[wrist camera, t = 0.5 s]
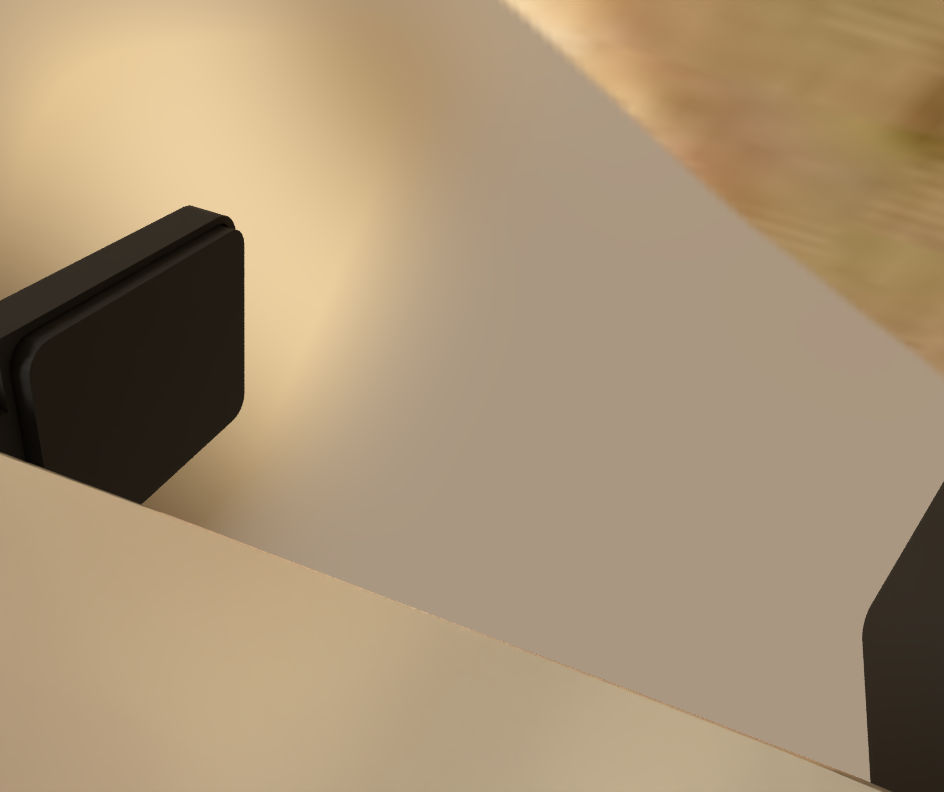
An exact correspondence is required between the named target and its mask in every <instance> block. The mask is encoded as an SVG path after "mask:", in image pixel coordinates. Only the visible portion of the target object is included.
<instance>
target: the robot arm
mask: <svg viewBox="0 0 944 792" xmlns="http://www.w3.org/2000/svg"><path fill="white" fill-rule="evenodd" d="M243 400H244V238H243V236H242V233H241V232H240V231H238V230H235V226H234V223H233V221H232V220H231V219H230V218H229V217H228V216H224V215H221V214H218V213H214V212H211V211H207V210H204V209H200V208H197V207H194V206H190V205H189V206H185V207H183V208H181V209H179V210H177V211H175V212H173V213H171V214H169V215H167V216H165V217H163V218H161V219H159V220H157V221H155V222H153V223H151V224H150V225H147V226H145V227H143V228H142V229H140V230H138V231H136V232H134V233H132V234H130V235H128V236H126V237H124V238H122V239H120V240H118V241H116V242H114V243H112V244H110V245H108V246H106V247H105V248H102V249H100V250H99V251H97V252H95V253H93V254H91V255H89V256H87V257H85V258H83V259H81V260H79V261H77V262H75V263H73V264H71V265H69V266H67V267H66V268H63V269H61V270H59V271H57V272H55V273H54V274H52V275H50V276H48V277H46V278H44V279H42V280H40V281H38V282H36V283H34V284H32V285H30V286H28V287H26V288H24V289H22V290H20V291H18V292H17V293H14V294H12V295H10V296H8V297H7V298H5V299H3V300H1V301H0V792H944V482H943V484H942V486H941V487H940V489H939V491H938V492H937V494H936V496H935V497H934V499H933V501H932V502H931V504H930V506H929V508H928V509H927V511H926V513H925V514H924V516H923V518H922V519H921V521H920V523H919V525H918V526H917V528H916V530H915V531H914V533H913V535H912V536H911V538H910V540H909V542H908V543H907V545H906V547H905V548H904V550H903V552H902V553H901V555H900V557H899V559H898V560H897V562H896V564H895V565H894V567H893V569H892V570H891V572H890V574H889V576H888V577H887V579H886V581H885V582H884V584H883V586H882V588H881V589H880V591H879V593H878V594H877V596H876V598H875V600H874V601H873V603H872V605H871V606H870V608H869V610H868V613H867V615H866V618H865V622H864V627H863V634H862V642H863V658H864V674H865V675H864V676H865V693H866V711H867V728H868V745H869V762H870V779H871V783H870V782H867V781H865V780H862V779H860V778H858V777H855V776H853V775H850V774H848V773H845V772H843V771H840V770H837V769H835V768H832V767H830V766H827V765H824V764H822V763H819V762H816V761H814V760H811V759H809V758H806V757H803V756H801V755H798V754H796V753H793V752H790V751H788V750H785V749H783V748H780V747H778V746H775V745H772V744H769V743H767V742H764V741H762V740H759V739H757V738H754V737H751V736H749V735H746V734H744V733H741V732H738V731H736V730H733V729H730V728H728V727H725V726H723V725H720V724H718V723H715V722H712V721H710V720H707V719H704V718H702V717H699V716H697V715H694V714H692V713H689V712H686V711H684V710H681V709H678V708H676V707H673V706H671V705H668V704H665V703H663V702H660V701H658V700H655V699H653V698H650V697H647V696H645V695H642V694H640V693H637V692H634V691H632V690H629V689H627V688H624V687H621V686H619V685H616V684H614V683H611V682H608V681H606V680H603V679H601V678H598V677H595V676H593V675H590V674H587V673H585V672H582V671H579V670H577V669H574V668H572V667H569V666H566V665H563V664H561V663H558V662H556V661H553V660H550V659H548V658H545V657H543V656H540V655H537V654H535V653H532V652H529V651H526V650H524V649H521V648H519V647H516V646H513V645H511V644H508V643H506V642H503V641H500V640H497V639H495V638H492V637H490V636H487V635H484V634H482V633H479V632H476V631H474V630H471V629H469V628H466V627H463V626H460V625H458V624H455V623H452V622H450V621H447V620H445V619H442V618H439V617H437V616H434V615H432V614H429V613H426V612H423V611H421V610H418V609H416V608H413V607H410V606H408V605H405V604H402V603H400V602H397V601H395V600H392V599H389V598H387V597H384V596H381V595H379V594H376V593H373V592H371V591H368V590H366V589H363V588H360V587H358V586H355V585H352V584H350V583H347V582H344V581H342V580H339V579H336V578H334V577H331V576H328V575H326V574H323V573H321V572H318V571H315V570H313V569H310V568H307V567H305V566H302V565H299V564H297V563H294V562H291V561H289V560H286V559H284V558H281V557H278V556H276V555H273V554H270V553H268V552H265V551H262V550H260V549H257V548H255V547H252V546H249V545H247V544H244V543H241V542H239V541H236V540H234V539H231V538H228V537H226V536H223V535H220V534H218V533H215V532H212V531H210V530H207V529H205V528H202V527H199V526H197V525H194V524H191V523H189V522H186V521H183V520H181V519H178V518H175V517H173V516H170V515H168V514H165V513H162V512H160V511H157V510H154V509H151V508H149V507H146V506H143V505H141V504H142V503H144V501H146V500H147V499H148V498H149V497H150V496H151V495H152V494H153V493H154V492H155V491H156V490H158V488H160V487H161V486H162V485H163V484H164V483H165V482H166V481H167V480H168V479H170V478H171V477H172V476H173V475H174V474H175V473H176V472H177V471H178V470H179V469H180V468H181V467H183V466H184V465H185V464H186V463H187V462H188V461H189V460H190V459H191V458H193V457H194V455H196V454H197V453H198V452H199V451H200V450H201V449H202V448H203V447H204V446H206V445H207V444H208V443H209V442H210V441H211V440H212V439H213V438H214V437H215V436H216V435H218V433H220V432H221V431H222V430H223V429H224V428H225V427H226V426H227V425H228V424H229V423H231V422H232V421H233V420H234V418H235V417H236V416H237V414H238V413H239V411H240V409H241V407H242V404H243Z"/></svg>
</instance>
